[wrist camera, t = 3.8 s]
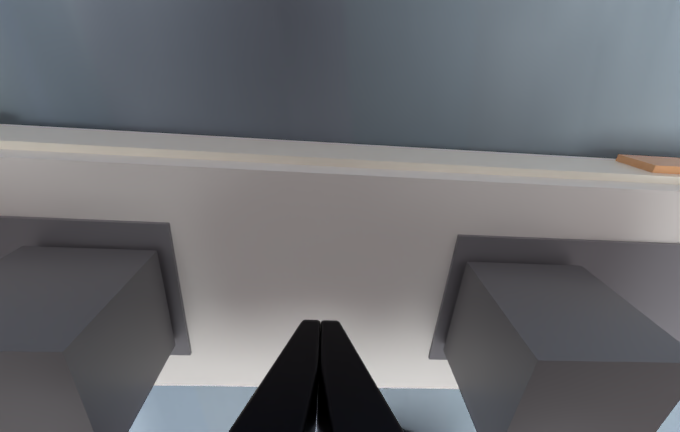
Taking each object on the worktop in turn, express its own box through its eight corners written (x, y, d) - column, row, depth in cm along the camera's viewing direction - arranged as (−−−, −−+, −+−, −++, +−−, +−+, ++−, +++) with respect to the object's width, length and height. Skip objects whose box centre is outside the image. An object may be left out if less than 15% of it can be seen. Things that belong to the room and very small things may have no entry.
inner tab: (175, 345, 9) (108, 467, 6) (60, 342, 9) (-61, 468, 6) (157, 250, 8) (62, 351, 5) (22, 245, 7) (-155, 348, 5)
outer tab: (542, 351, 10) (630, 466, 7) (443, 350, 9) (491, 466, 7) (581, 265, 8) (705, 363, 6) (466, 261, 8) (537, 360, 5)
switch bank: (633, 327, 14) (712, 394, 11) (-47, 311, 12) (-161, 384, 9) (732, 155, 11) (878, 187, 8) (-161, 103, 9) (-381, 118, 6)
